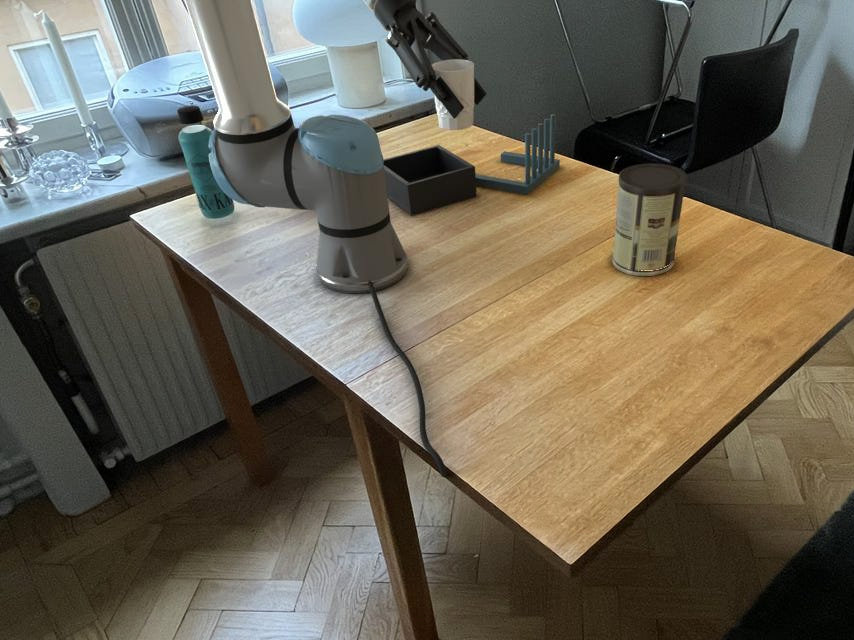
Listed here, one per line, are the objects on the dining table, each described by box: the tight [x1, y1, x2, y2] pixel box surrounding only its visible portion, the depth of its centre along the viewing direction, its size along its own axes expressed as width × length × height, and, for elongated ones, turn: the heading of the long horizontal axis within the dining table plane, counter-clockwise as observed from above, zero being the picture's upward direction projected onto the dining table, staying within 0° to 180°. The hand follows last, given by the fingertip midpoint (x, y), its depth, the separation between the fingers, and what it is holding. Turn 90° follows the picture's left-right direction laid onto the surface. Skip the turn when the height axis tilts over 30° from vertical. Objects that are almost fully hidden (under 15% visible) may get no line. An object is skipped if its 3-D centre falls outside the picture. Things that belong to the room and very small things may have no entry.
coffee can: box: [611, 162, 688, 277], centre depth 116 cm, size 10×10×14 cm
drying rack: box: [475, 113, 561, 196], centre depth 145 cm, size 13×15×11 cm
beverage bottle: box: [176, 104, 236, 220], centre depth 134 cm, size 6×7×20 cm
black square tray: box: [383, 144, 477, 217], centre depth 143 cm, size 15×15×6 cm
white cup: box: [431, 59, 475, 131], centre depth 134 cm, size 8×8×10 cm
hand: (470, 106), depth 134 cm, fingers closed on white cup, 8 cm apart
